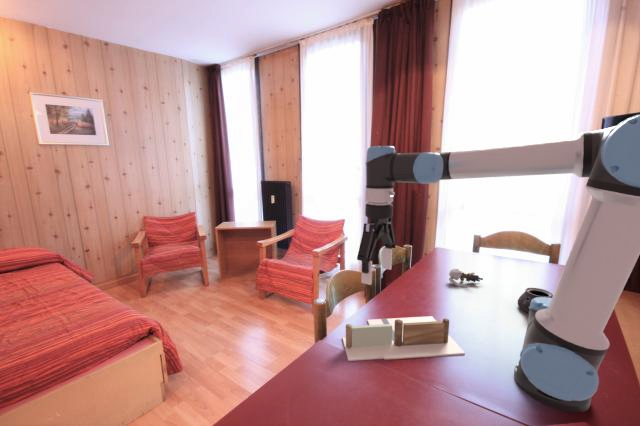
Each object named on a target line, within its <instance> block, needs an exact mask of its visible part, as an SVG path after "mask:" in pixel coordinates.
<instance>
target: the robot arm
mask: <svg viewBox="0 0 640 426" xmlns="http://www.w3.org/2000/svg"><path fill="white" fill-rule="evenodd" d="M365 166H366V168H365V169H366V171H365V174H366V175H365V176H366V179H365V181H366V182H365V183H366V184H365V200H364V201H365V202H367V203H366V204H365V211H364V212H365V214H364V215H365V217H366V218H368V219H369V222H368V223H365V222H364V224H363V231H362V235H361V240H360V244H359V249H358V253H357V257H356V259H357V261H361V281H360V282H361V283H362V284H365V285H369V286H371V285H372V283H373V281H372V280H373V260H372V256H373V254H374V252H375V248H376V245H377V242H378V241H379V240H380V239H381V241H382V244H383V246H384V247H382V258H381V259H382V261H381V264H382V267H381V268H382V269H384V270H390V271H391V270H392V265H393V264H392V263H393V260H392V259H393V249H396V237H395V232H394V226H393V216H394V215H393V214H394V205H393V202H394V196H395V195H396V192H395V191H394V187H395V183H405V184H406V183H408V184H409V183H410V184H421V185H427V184H429V185H430V184H437V183H439V181H443V180H444V181H445V180H461V179H479V178H480V179H481V178H502V177H503V178H504V177H521V176H523V177H524V176H542V175H562V174H563V175H564V174H574V175H575V176H576V177H578V178H588V180H587V182H586V184H585V189H586V190H587V192H588V193H589V194H590V195H591V201H590V203H589V206H588V207H587V211H586V213H585V215H584V218H583V220H582V223H581V225H580V227H579V230H578V232H577V235H576V238H575V240H574V242H573V245H572V247H571V250H570V252H569V255H568V258H567V260H566V263H565V265H564V268H563V271H562V273H561V275H560V277H559V280H558V282H557V285H556V287H555V289H554V292H553V293H552V294H553V297H552V298H548V297H537V298H534V299H532V300H531V303H530V306H529V309H530V310H529V313H528V319H527V320H528V321H527V324H526V325H527V326H526V331H525V336H524V340H523V345H522V349H521V351H520V354H519V358H520V359H519V360H518V362H517V363H516V365H515V366H514V369H513V370H514V371H513V378H514V381H515V383H516V384H517V386H518V387H519V388H520V390H522V391H523V392H524V393H526V395H527V396H529V397H531V399H534V400H535V401H537V402H539V403H540V404H543V405H546V406H547V407H550V408H553V409H557V410H558V411H559V410H560V411H564V412H570V413H577V412H578V413H580V412H582V413H586V412H587V411H588V410H589V409H590V406H591V402H592V397H593V396H594V395H595V394H596V393H597V391H598V387H599V385H600V378H599V374H598V372H599V368H600V366H601V363H602V362H603V361H604V358H605V355H606V354H607V351H608V349H609V348H610V345H611V344H610V341H609V339H608V337H607V336H606V334H605V333H604V330H605V328H606V326H607V325H608V321H609V319H610V318H611V316H612V314H613V311H614V309H615V307H616V305H617V303H618V301H619V299H620V297H621V295H622V293H623V290H624V288H625V286H626V284H627V283H628V279H629V278H630V276H631V273H632V272H633V270H634V267H635V266H636V263H637V261H638V259H639V256H640V113H637V114H635V115H633V116H630V117H628V118H626V119H624V120H623V121H621V122H619V123H618V124H617V125H614V126H611V127H607V128H603V129H598V130H593V131H591V130H590V131H583V132H580V133H578V134H577V135H576V136H575V137H571V138H563V139H557V140H555V139H554V140H546V141H537V142H528V143H527V142H526V143H518V144H509V145H499V146H492V147H482V148H472V149H464V150H454V151H446V152H443V151H442V152H430V151H423V152H407V153H406V152H403V153H400V152H396V148H395V146H394V145H374V146H369V147H368V148H367V150H366V161H365Z"/></svg>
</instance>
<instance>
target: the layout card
mask: <svg viewBox="0 0 640 426" xmlns="http://www.w3.org/2000/svg"><path fill="white" fill-rule="evenodd" d="M397 319H399V320H402V321H403V323H415V322H432V321H437V320H436V319H435V318H434V317H433V315H431V316H411V317H395V318H393V317H392V318H386V317H385V318H373V319H367V321H366V322H367V323H368V324H367V325H381V324H391V325H392V345H378V346H363V347H351V348H347V347H346V336H342V338H341V339H342V343H343V345H344V350H345V354H346V359H347V361H348V362H350V361H351V362H353V361H355V362H356V361H366V360H368V361H369V360H383V359H384V360H385V361H388V360H400V359H401V360H402V359H415V358H429V357H445V356H447V357H449V356H461V355H465V354H466V353H465V351H464V350H463V349H462V348H461V347H460V345H459V344H458V343H457V342H456V341H455V340H454V338H452V337H451V336H450V334H449V333H448V343H444V342H440V343H424V344H409V345H404V344H403V333H402V346H400V347H398V346H395V345H394V329H395V320H397Z"/></svg>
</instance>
